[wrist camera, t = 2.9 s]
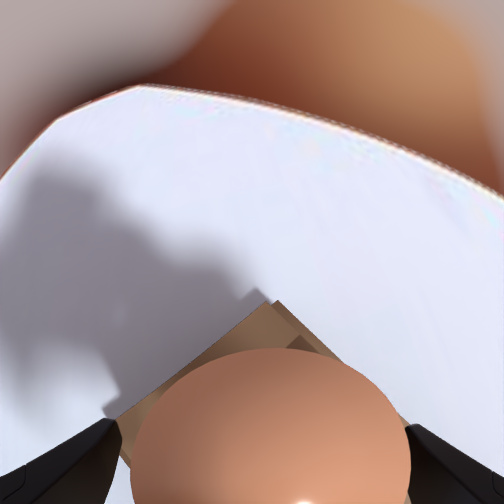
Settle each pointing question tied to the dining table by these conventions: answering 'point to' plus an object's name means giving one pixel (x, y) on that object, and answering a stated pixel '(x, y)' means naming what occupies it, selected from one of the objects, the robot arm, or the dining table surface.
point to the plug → (271, 435)
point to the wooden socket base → (237, 340)
